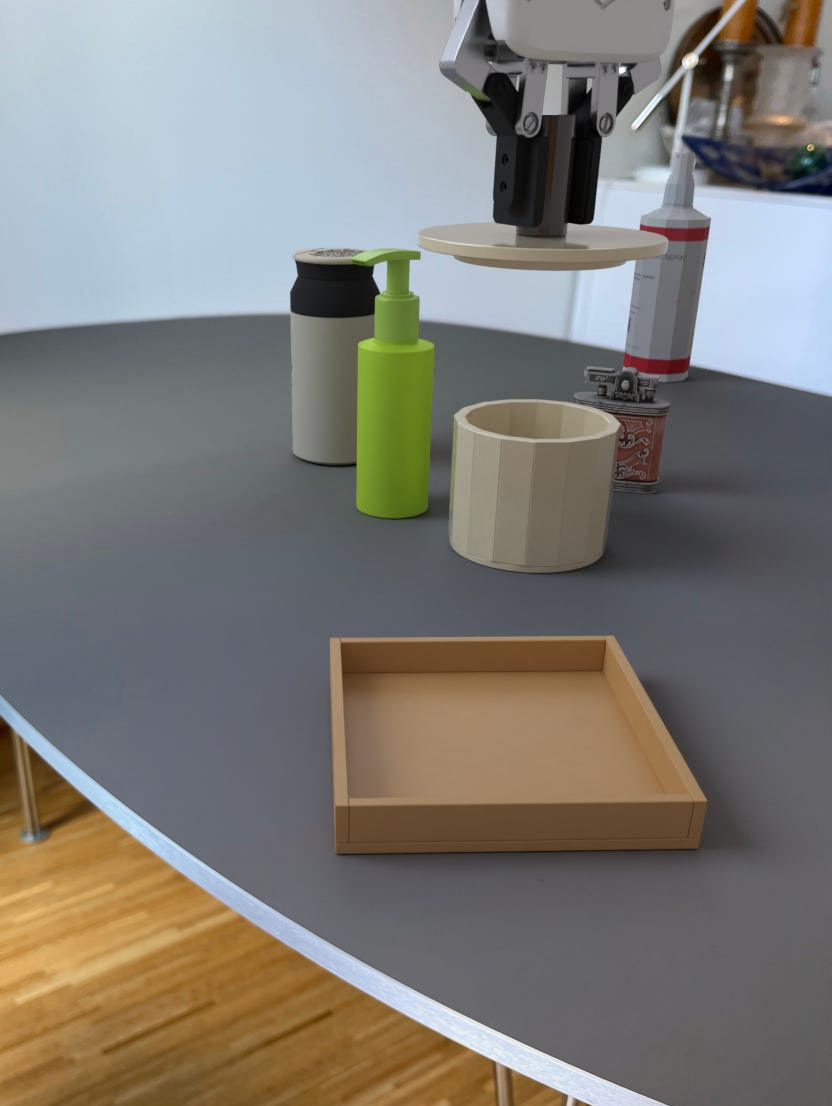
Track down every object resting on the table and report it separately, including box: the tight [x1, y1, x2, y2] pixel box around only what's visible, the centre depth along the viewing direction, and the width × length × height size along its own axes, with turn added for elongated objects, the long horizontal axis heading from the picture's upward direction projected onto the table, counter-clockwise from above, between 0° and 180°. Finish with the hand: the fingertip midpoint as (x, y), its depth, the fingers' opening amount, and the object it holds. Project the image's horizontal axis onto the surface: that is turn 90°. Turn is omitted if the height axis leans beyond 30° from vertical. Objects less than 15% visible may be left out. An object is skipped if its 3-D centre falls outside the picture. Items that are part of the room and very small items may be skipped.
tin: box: [447, 398, 621, 574], centre depth 78 cm, size 12×12×10 cm
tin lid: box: [416, 113, 668, 272], centre depth 53 cm, size 13×13×7 cm
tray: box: [329, 635, 709, 855], centre depth 54 cm, size 16×16×3 cm
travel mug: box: [289, 247, 381, 466], centre depth 97 cm, size 8×8×18 cm
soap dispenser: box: [350, 248, 435, 519], centre depth 83 cm, size 6×7×20 cm
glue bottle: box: [622, 151, 712, 383], centre depth 126 cm, size 8×8×25 cm
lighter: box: [572, 365, 671, 494], centre depth 91 cm, size 8×3×10 cm, turn 65°
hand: (542, 220), depth 54 cm, fingers closed on tin lid, 2 cm apart
